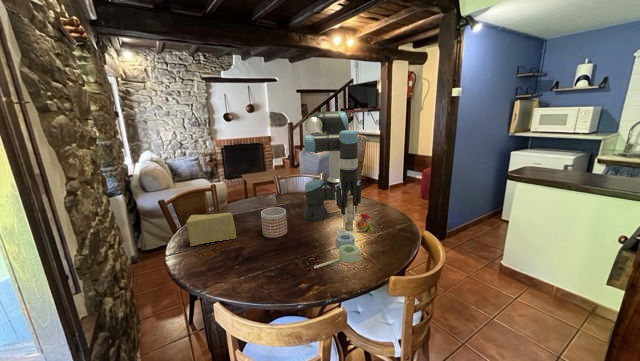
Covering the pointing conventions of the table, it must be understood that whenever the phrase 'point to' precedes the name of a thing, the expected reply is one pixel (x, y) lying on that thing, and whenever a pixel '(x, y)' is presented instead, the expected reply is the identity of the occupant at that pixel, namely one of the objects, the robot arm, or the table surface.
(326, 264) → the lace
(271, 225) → the planter
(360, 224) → the red green lumpy piece
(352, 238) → the blue bead
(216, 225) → the cheese
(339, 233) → the wineglass
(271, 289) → the table surface
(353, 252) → the bead
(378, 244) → the table surface
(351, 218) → the wooden dowel
